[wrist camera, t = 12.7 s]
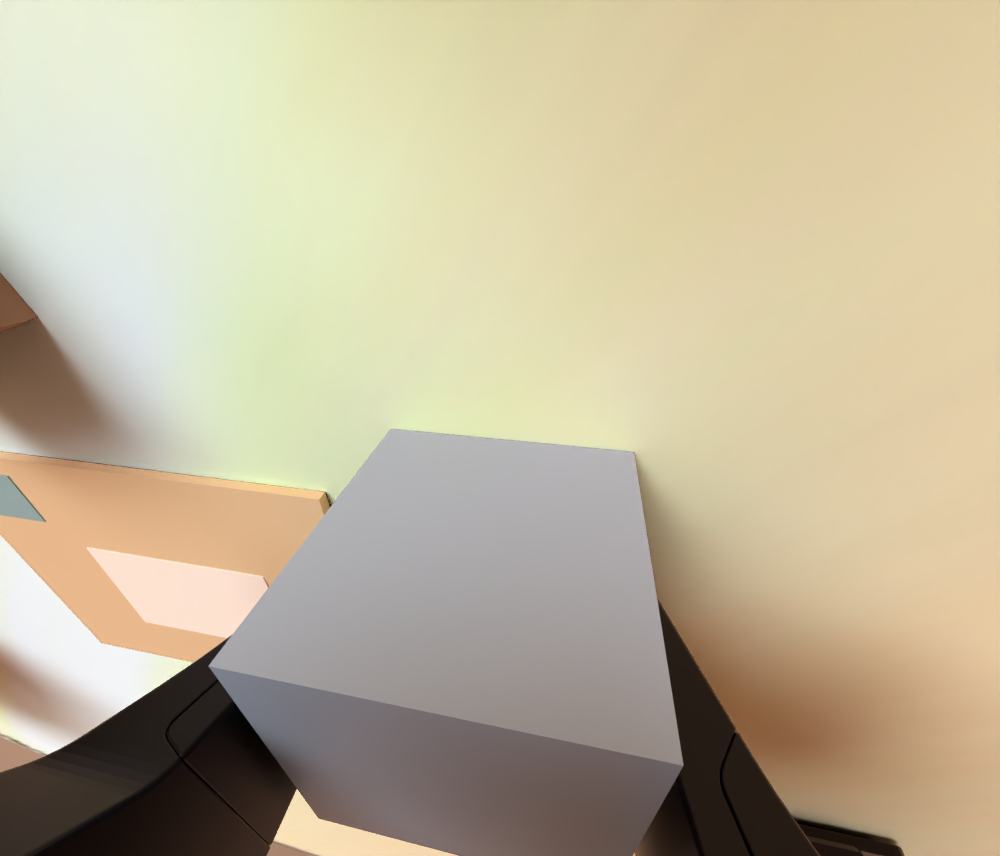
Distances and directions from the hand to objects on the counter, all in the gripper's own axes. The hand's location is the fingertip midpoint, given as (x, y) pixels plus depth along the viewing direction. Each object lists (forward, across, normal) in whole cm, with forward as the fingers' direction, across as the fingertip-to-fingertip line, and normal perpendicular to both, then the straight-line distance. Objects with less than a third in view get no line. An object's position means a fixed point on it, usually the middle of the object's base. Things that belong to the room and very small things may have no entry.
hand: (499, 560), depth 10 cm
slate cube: (+1, 0, 0) cm, 1 cm away
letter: (+1, +12, +5) cm, 13 cm away
